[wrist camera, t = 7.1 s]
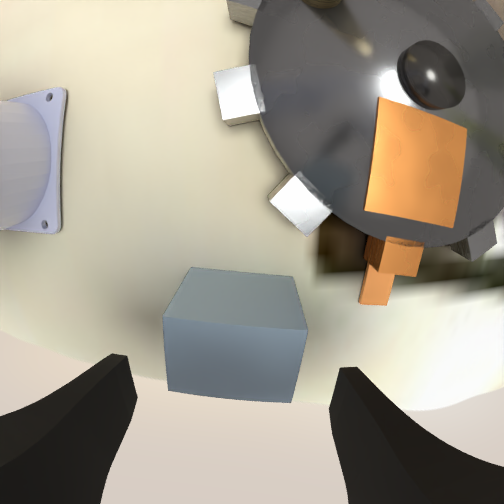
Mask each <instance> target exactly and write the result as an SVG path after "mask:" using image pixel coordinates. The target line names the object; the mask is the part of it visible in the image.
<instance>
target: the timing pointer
mask: <svg viewBox="0 0 504 504" xmlns="http://www.w3.org/2000/svg"><path fill="white" fill-rule="evenodd" d="M394 276H395V274H386V273H378V272H377V271H376V270H375V269H374V268H373V267H372V266H371V265H370V264H369V263H367V267H366V272H365V276H364V281H363V285H362V289H361V294H360V298H359V303H360V304H364V305H387V303H388V299H389V296H390V292H391V288H392V284H393V280H394Z"/></svg>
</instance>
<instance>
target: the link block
mask: <svg viewBox="0 0 504 504" xmlns="http://www.w3.org/2000/svg"><path fill="white" fill-rule="evenodd" d="M163 333H164V348H165V361H166V373H167V383H168V391H174V392H180V393H187V394H193V395H200V396H208V397H216V398H225V399H236V400H247V401H262V402H282V403H291V401H292V398H293V394H294V390H295V386H296V382H297V377H298V373H299V369H300V365H301V361H302V356H303V352H304V347H305V343H306V338H307V334H308V328H307V324H306V321H305V317H304V313H303V310H302V306H301V303H300V299H299V296H298V292H297V289H296V285H295V282H294V278H293V277H291V276H279V275H268V274H257V273H246V272H236V271H225V270H215V269H205V268H195V267H191V268H190V270H189V272H188V273H187V275H186V277H185V278H184V280H183V282H182V283H181V285H180V287H179V289H178V290H177V292H176V294H175V295H174V297H173V299H172V301H171V302H170V304H169V306H168V308H167V309H166V311H165V313H164V315H163Z"/></svg>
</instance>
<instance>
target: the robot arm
mask: <svg viewBox="0 0 504 504" xmlns="http://www.w3.org/2000/svg"><path fill="white" fill-rule="evenodd" d="M52 94H53V97H52V100H51V101H50V97H51V95H52ZM65 102H66V90H65V89H64V88H61V87H56V88H52V89H47V90H43V91H39V92H35V93H31V94H27V95H24V96H20V97H17V98H13V99H10V100H7V101H1V100H0V230H3V229H4V230H14V231H25V232H35V233H46V234H55V233H57V232H58V231H60V228H61V213H60V161H61V142H62V129H63V119H64V110H65ZM46 221H47V223H48V227H47V226H46V223H45V222H46ZM137 398H138V397H137V394H136V390H135V386H134V382H133V378H132V374H131V370H130V366H129V362H128V357H127V356H124V355H118V354H110V355H109V356H107V357H106V358H104V359H103V360H101V361H100V362H98V363H97V364H95V365H94V366H92V367H91V368H90V369H88V370H87V371H85V372H84V373H82V374H81V375H79V376H78V377H77V378H75V379H74V380H72V381H71V382H69V383H68V384H66V385H64V386H63V387H61V388H59V389H58V390H56V391H54V392H53V393H51V394H50V395H48V396H46V397H44V398H42V399H41V400H39V401H37V402H35V403H33V404H30V405H28V406H26V407H24V408H22V409H19V410H17V411H14V412H11V413H8V414H6V415H3V416H0V504H100V503H101V498H102V493H103V490H104V486H105V483H106V479H107V475H108V473H109V470H110V467H111V465H112V462H113V460H114V458H115V455H116V453H117V451H118V449H119V447H120V444H121V442H122V440H123V438H124V435H125V433H126V431H127V429H128V426H129V424H130V422H131V419H132V416H133V412H134V409H135V405H136V402H137ZM329 413H330V421H331V428H332V435H333V439H334V442H335V446H336V450H337V454H338V457H339V461H340V465H341V469H342V472H343V476H344V480H345V483H346V488H347V494H348V503H349V504H504V467H502V466H498V465H495V464H491V463H488V462H486V461H483V460H480V459H478V458H475V457H473V456H471V455H468V454H466V453H464V452H462V451H460V450H458V449H456V448H454V447H452V446H451V445H448V444H447V443H445V442H444V441H442V440H440V439H439V438H437V437H436V436H434V435H433V434H431V433H430V432H428V431H426V430H425V429H424V428H423V427H421V426H420V425H419V424H417V423H416V422H415V421H414V420H412V419H411V418H410V417H409V416H407V415H406V414H405V413H404V412H403V411H402V410H400V409H399V408H398V407H397V406H396V405H395V404H394V403H393V402H392V401H391V400H390V399H389V398H387V397H386V396H385V395H384V394H383V393H382V392H381V391H380V390H379V389H378V388H377V387H376V386H375V385H374V384H373V383H372V382H371V381H370V379H369V378H368V377H367V376H366V375H365V374H364V373H363V372H362V371H361V370H360V369H359V368H358V367H344V368H340V369H339V373H338V377H337V381H336V385H335V389H334V393H333V396H332V400H331V403H330V407H329Z"/></svg>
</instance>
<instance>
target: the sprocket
mask: <svg viewBox="0 0 504 504" xmlns="http://www.w3.org/2000/svg"><path fill="white" fill-rule="evenodd" d="M227 5H228V10H229V15H230V19H231V20H234V21H237V22H240V23H243V24H246V25H249V26H252V30H251V34H250V46H249V65H246V66H241V67H236V68H231V69H226V70H221V71H217V72H213V74H214V78H215V83H216V88H217V93H218V98H219V103H220V108H221V113H222V118H223V121H224V122H225V123H226V124H227V125H228V126H231V125H236V124H241V123H246V122H251V121H257V120H260V122H261V125H262V128H263V131H264V133H265V135H266V137H267V139H268V140H269V142H270V144H271V146H272V148H273V150H274V152H275V153H276V155H277V156H278V158H279V159H280V161H281V162H282V164H283V165H284V167H285V168H286V170H287V171H288V172H289V174H288V175H287V176H286V177H285V178H284V179H283V180H282V181H281V182H280V183H279V184H278V185H277V186H276V187H275V189H274V190H273V191H272V192H271V193H270V194H269V195H268V198H269V201H270V202H271V203H272V204H273V205H274V206H275V207H276V208H277V209H278V210H279V211H280V212H281V213H282V214H283V215H284V216H285V217H287V218H288V219H289V220H290V221H291V222H292V223H293V224H294V225H295V226H296V227H297V228H298V229H299V230H300V231H301V232H302V233H303V234H304V235H305V236H306V237H308V236H309V235H310V234H311V233H312V232H313V231H314V230H315V229H316V228H317V227H318V226H319V225H320V224H321V223H322V222H323V220H324V219H325V218H326V217H327V216H328V215H329V214H330V213H331V212H332V213H334V214H335V215H337V216H338V217H339V218H341V219H342V220H343V221H345V222H346V223H348V224H350V225H351V226H353V227H355V228H357V229H359V230H360V231H362V232H364V233H366V234H368V239H367V244H366V248H365V253H364V257H363V258H364V259H365V260H366V261H367V262H368V263H369V264H370V265H371V266H372V267H373V268H374V269H375V270H376V271H377V272H378V273H386V274H395V275H404V276H413V277H416V274H417V271H418V267H419V263H420V260H421V256H422V252H423V248H426V247H438V246H444V245H448V244H450V246H451V250H453V251H454V252H456V253H458V254H460V255H461V256H463V257H465V258H467V259H468V260H470V261H472V262H473V261H474V260H475V259H477V258H478V257H479V256H481V255H482V254H484V253H485V252H486V251H488V250H489V249H490V248H492V247H493V246H494V245H495V244H497V240H496V234H495V229H494V223H493V219H494V218H495V217H496V216H497V215H498V213H499V212H500V211H501V210H502V209H503V207H504V41H503V39H502V38H501V36H500V34H499V33H498V29H499V28H500V27H501V26H502V24H503V21H502V20H501V19H500V17H499V16H498V15H497V13H496V12H495V11H494V10H493V8H492V7H491V6H490V5H489V4H488V2H487V1H486V0H227Z"/></svg>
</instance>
